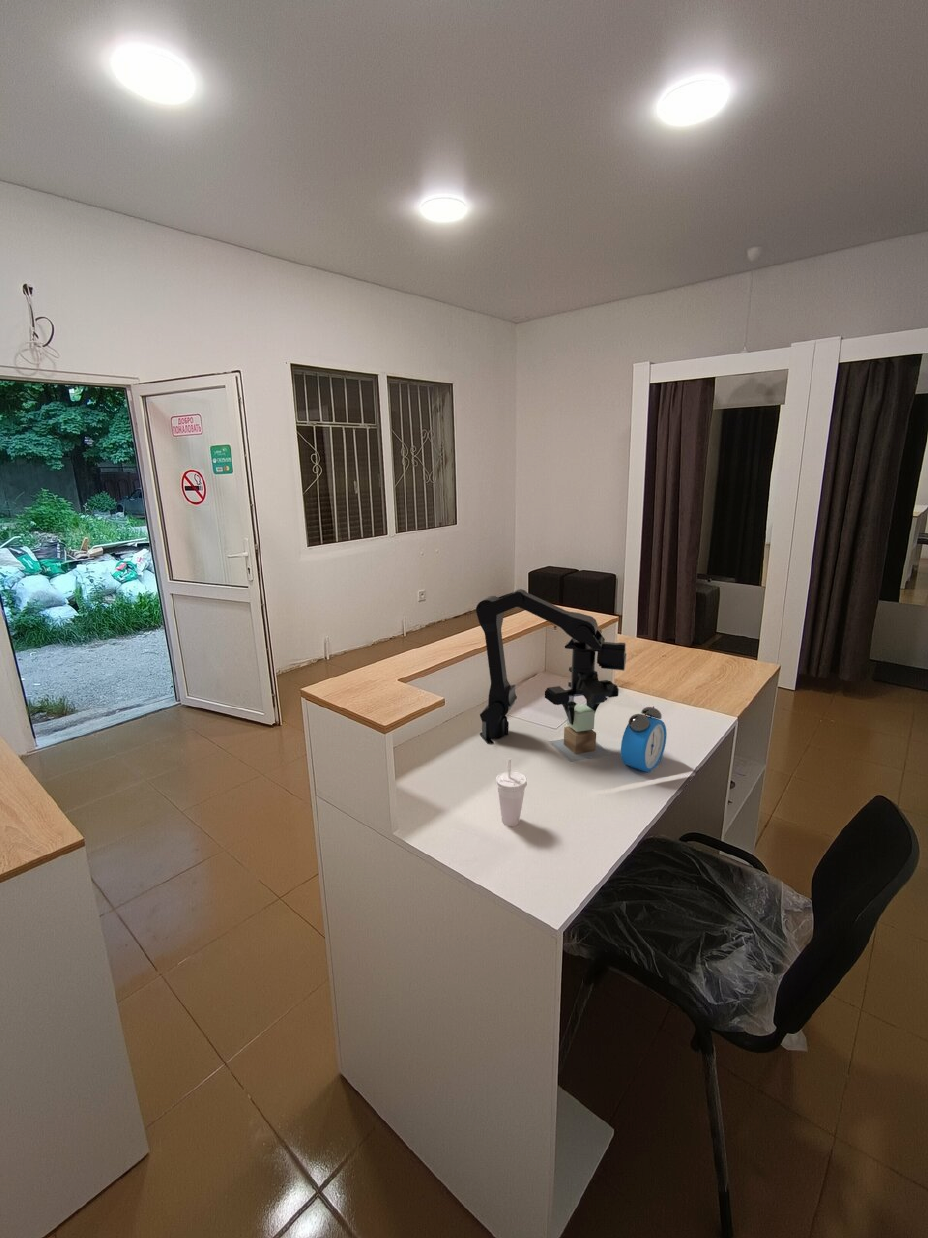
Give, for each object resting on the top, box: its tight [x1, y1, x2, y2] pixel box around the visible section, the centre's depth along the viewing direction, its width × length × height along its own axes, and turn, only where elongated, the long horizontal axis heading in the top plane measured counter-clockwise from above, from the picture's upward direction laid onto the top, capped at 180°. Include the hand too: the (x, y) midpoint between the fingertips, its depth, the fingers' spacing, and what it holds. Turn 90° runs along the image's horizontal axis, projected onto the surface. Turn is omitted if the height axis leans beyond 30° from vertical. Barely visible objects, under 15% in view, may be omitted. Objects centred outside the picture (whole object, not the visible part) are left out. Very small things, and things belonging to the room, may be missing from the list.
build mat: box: [548, 738, 612, 762], centre depth 149 cm, size 12×12×1 cm
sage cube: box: [566, 703, 596, 732], centre depth 146 cm, size 5×5×5 cm
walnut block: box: [563, 725, 597, 754], centre depth 148 cm, size 6×6×5 cm
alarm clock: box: [620, 706, 667, 773], centre depth 138 cm, size 13×6×15 cm, turn 137°
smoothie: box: [495, 757, 528, 827], centre depth 116 cm, size 6×6×14 cm
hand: (580, 722), depth 147 cm, fingers closed on sage cube, 5 cm apart
